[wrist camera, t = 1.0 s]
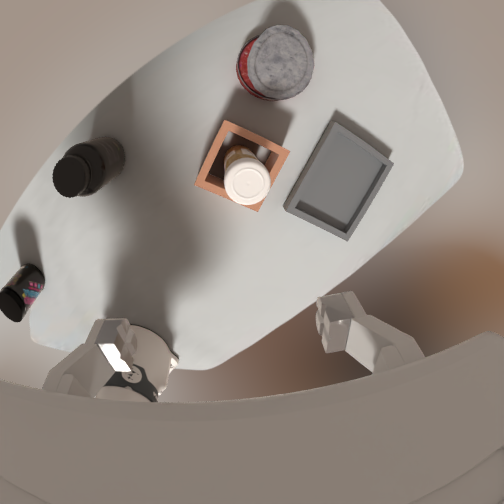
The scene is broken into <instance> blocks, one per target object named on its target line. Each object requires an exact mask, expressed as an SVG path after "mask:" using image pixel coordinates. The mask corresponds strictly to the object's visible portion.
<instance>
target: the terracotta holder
mask: <svg viewBox="0 0 504 504" xmlns="http://www.w3.org/2000/svg"><path fill="white" fill-rule="evenodd" d="M228 131H231V132H233V133H235V134H237V135H240V136H242V137H244V138H246V139H248V140H250V141H253V142H255V143H257V144H259V145H261V146H263V147H265V148H267V149H269V150H271V151H272V152H271V154H270V155H269V157H268V159H267V161H266V163H265V165H264V166H265V167H266V169H267V170H268V172H269V174H270V178H271V186H272V184H273V182H274V181H275V179H276V177H277V175H278V173H279V171H280V169H281V168H282V166H283V164H284V162H285V160H286V158H287V156H288V155H289V153H290V151H289V150H287V149H285V148H283V147H282V146H280V145H278V144H276V143H274V142H272V141H270V140H268V139H266V138H264V137H262V136H260V135H257V134H255V133H253V132H251V131H249V130H247V129H245V128H243V127H240V126H238V125H236V124H234V123H232V122H229V121H227V120H225V119H224V121H223V123H222V125H221V127H220V129H219V131H218V133H217V135H216V137H215V139H214V141H213V143H212V146H211V148H210V150H209V152H208V154H207V156H206V158H205V160H204V163H203V165H202V167H201V169H200V171H199V174H198V176H197V179H196V181H195V184H194V185H196V186H198V187H200V188H203V189H205V190H208V191H210V192H213V193H215V194H217V195H220V196H222V197H224V198H227V199H229V200H231V201H233V200H232V199H231V198H230V197H229V196H228V194H227V192H226V190H225V186H224V180H223V179H220V178H218V177H216V176H213V175H211V174H209V173H208V172H209V170H210V168H211V166H212V164H213V162H214V159H215V157H216V155H217V153H218V151H219V149H220V147H221V145H222V143H223V141H224V139H225V137H226V135H227V133H228ZM271 186H270V188H271ZM264 199H265V198H264ZM264 199H262V200H261V201H260V202H258V203H255V204H252V205H243V206H245V207H248V208H250V209H252V210H255V211H257V212H258V210H259V209H260V207H261V205H262V203H263V201H264ZM234 202H235V201H234ZM236 203H237V202H236ZM238 204H239V203H238ZM241 205H242V204H241Z"/></svg>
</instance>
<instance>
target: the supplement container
mask: <svg viewBox="0 0 504 504" xmlns="http://www.w3.org/2000/svg"><path fill="white" fill-rule="evenodd" d="M44 284H45V282H44V277H43V275H42V273H41V271H40V270H39V269H38V268H37V267H36V266H34V265H32V264H25V265H23V266H22V267H21V268H20V269H19V270H18V271H17V272H16V274H15V275H14V276H13V277H12V278H11V279H10V280H9V281H8V283H7V284H6V285H5V286H4V287H3V288H2V289H1V291H0V309H1V311H2V312H3V313H4V314H5V316H6V317H8V318H9V319H11V320H12V321H14V322H20V321H21V320H22V319H23V317H24V316H25V314H26V313H27V311H28V310H29V308H30V307H31V305H32V304H33V302H34V301H35V300H36V298H37V297H38V295H39V294H40V293H41V291H42V290H43V288H44Z"/></svg>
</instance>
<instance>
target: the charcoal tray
mask: <svg viewBox="0 0 504 504" xmlns="http://www.w3.org/2000/svg"><path fill="white" fill-rule="evenodd" d="M393 164H394V163H393V162H391V161H390V160H389V159H387V158H386V157H385V156H384V155H382V154H381V153H380V152H378V151H377V150H376V149H374V148H373V147H372V146H370V145H369V144H367V143H366V142H365V141H363V140H362V139H360V138H359V137H358V136H356V135H355V134H353V133H352V132H350V131H349V130H347V129H346V128H344V127H343V126H341V125H340V124H338V123H337V122H333V121H330V123H329V124H328V126H327V128H326V130H325V132H324V133H323V135H322V137H321V139H320V141H319V143H318V144H317V146H316V148H315V150H314V152H313V153H312V155H311V157H310V159H309V161H308V162H307V164H306V166H305V168H304V170H303V171H302V173H301V175H300V177H299V179H298V180H297V182H296V184H295V186H294V188H293V189H292V191H291V193H290V195H289V197H288V198H287V200H286V202H285V204H284V206H283V207H284V209H285V211H287V212H289V213H291V214H293V215H295V216H297V217H299V218H301V219H303V220H306V221H308V222H310V223H312V224H314V225H316V226H318V227H320V228H322V229H324V230H326V231H328V232H330V233H332V234H334V235H336V236H338V237H340V238H342V239H344V240H346V241H348V240H349V238H350V237H351V235H352V234H353V232H354V230H355V229H356V227H357V226H358V224H359V222H360V221H361V219H362V218H363V216H364V214H365V213H366V211H367V209H368V208H369V206H370V204H371V203H372V201H373V199H374V198H375V196H376V194H377V193H378V191H379V189H380V187H381V186H382V184H383V182H384V181H385V179H386V177H387V175H388V173H389V172H390V170H391V168H392V166H393Z"/></svg>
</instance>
